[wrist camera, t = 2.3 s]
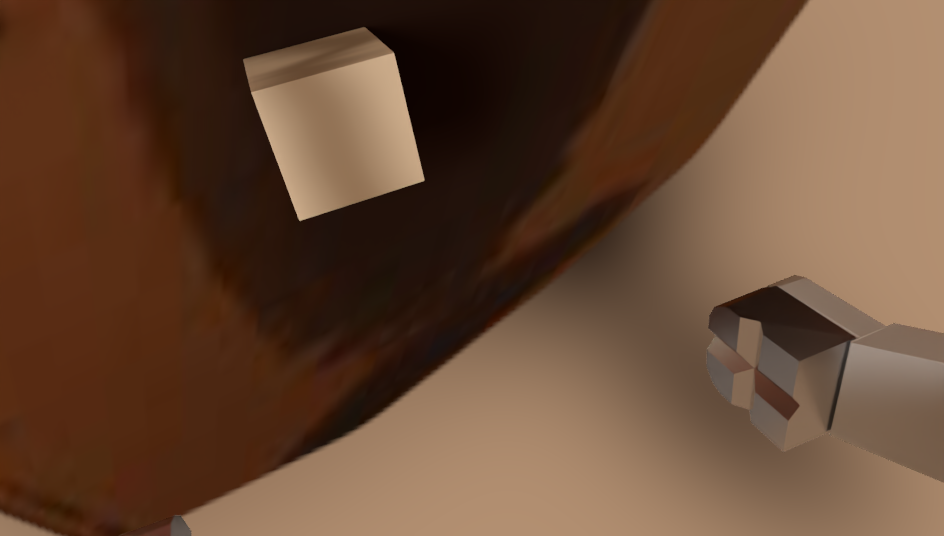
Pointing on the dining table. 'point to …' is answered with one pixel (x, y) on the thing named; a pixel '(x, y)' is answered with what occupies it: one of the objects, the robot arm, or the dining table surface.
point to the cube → (335, 120)
